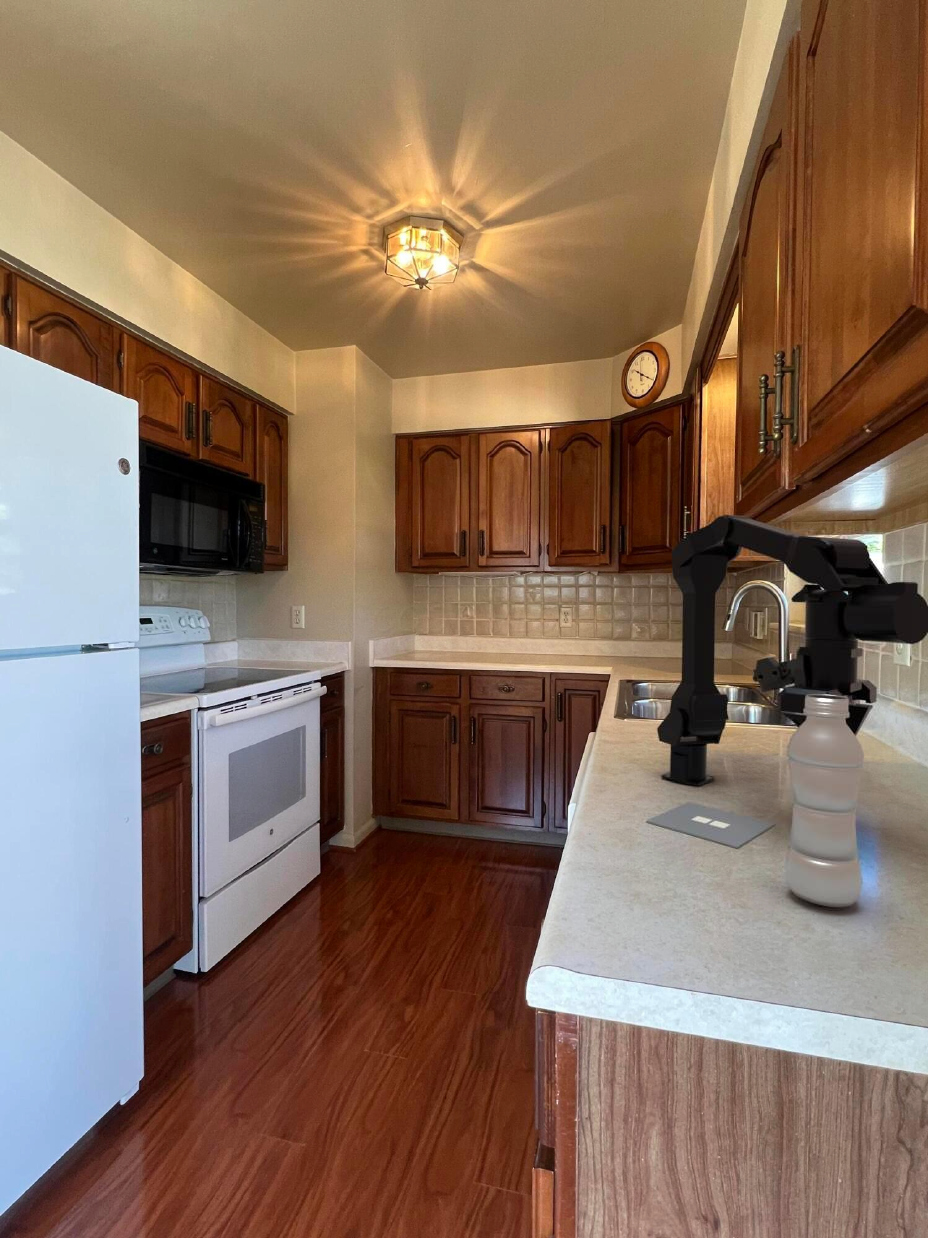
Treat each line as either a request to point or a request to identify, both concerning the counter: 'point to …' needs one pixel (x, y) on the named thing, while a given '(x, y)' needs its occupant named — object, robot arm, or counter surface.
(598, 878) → the counter surface
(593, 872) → the counter surface
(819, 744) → the plastic bottle
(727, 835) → the mat
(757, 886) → the counter surface
